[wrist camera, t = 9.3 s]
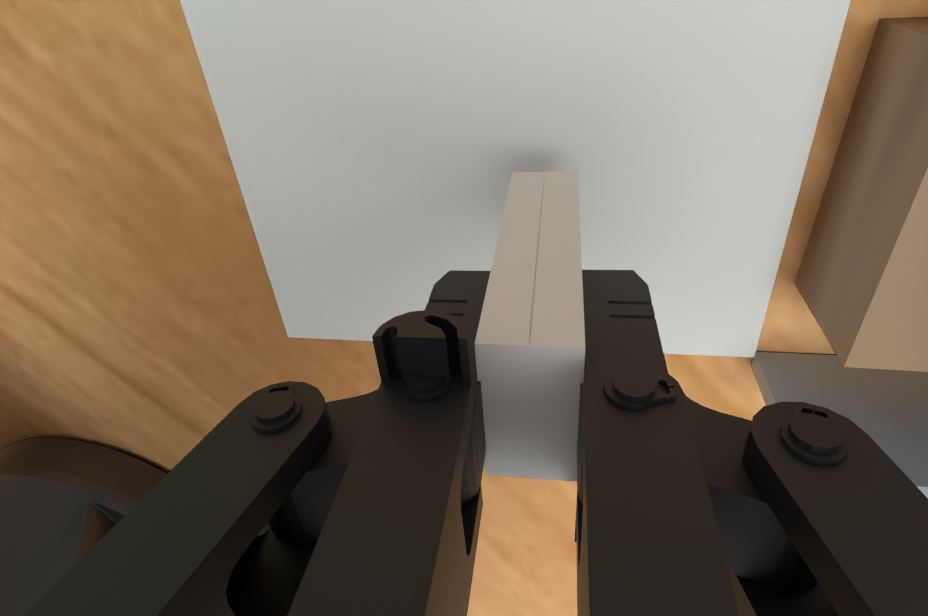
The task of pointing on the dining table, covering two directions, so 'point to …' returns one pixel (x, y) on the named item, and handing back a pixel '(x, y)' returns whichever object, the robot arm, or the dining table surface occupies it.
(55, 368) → the dining table surface
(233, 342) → the dining table surface
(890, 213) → the brown block
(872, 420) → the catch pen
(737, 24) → the runner mat
